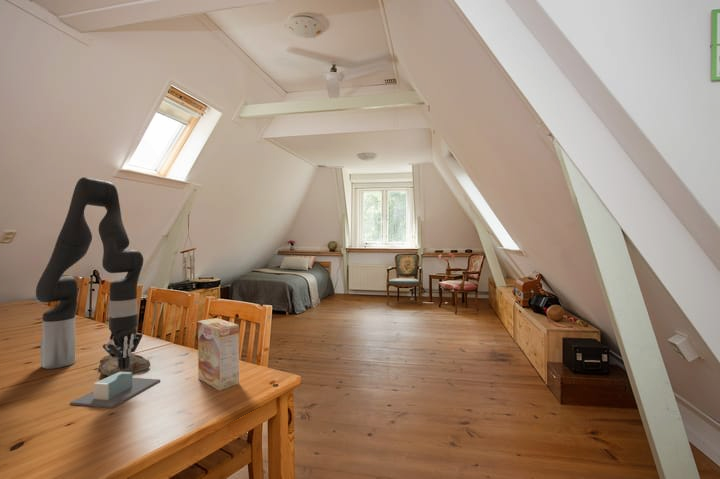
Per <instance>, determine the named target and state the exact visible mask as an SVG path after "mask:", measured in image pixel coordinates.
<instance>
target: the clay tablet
mask: <svg viewBox="0 0 720 479" xmlns="http://www.w3.org/2000/svg"><path fill="white" fill-rule="evenodd" d="M129 361H130V364H129V367H128V368H126V369H124V370H123V369H119V367H118V358H117V357H111V356H110V354H109V355H105V356H103V357H102V358H101V359H100V360H99V365H98V369H99V371H100V373H101V374H102V375H104V376H107V377H109V376H111V375H113V374H116V373H118V372H132V374H134V373H138V372H142V371H148V370H149V369H150V367H151V362H150V359H146V358H145V357H144V356H141V355H139V354H135V353H133V352H132V353H131V355H130V360H129Z"/></svg>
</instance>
